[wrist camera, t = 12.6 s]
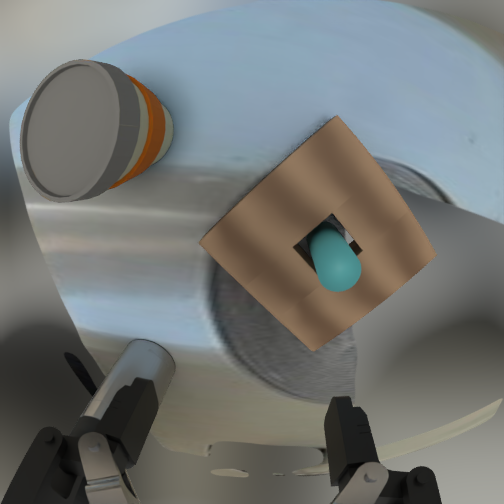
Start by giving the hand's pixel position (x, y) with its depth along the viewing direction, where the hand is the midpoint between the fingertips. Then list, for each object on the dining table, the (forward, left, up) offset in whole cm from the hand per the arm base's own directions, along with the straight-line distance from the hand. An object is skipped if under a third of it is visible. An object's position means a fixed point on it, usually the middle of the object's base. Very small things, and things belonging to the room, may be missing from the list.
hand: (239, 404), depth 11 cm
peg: (+5, -5, -24) cm, 25 cm away
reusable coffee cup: (-2, +20, -25) cm, 32 cm away
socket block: (+5, -5, -24) cm, 25 cm away
